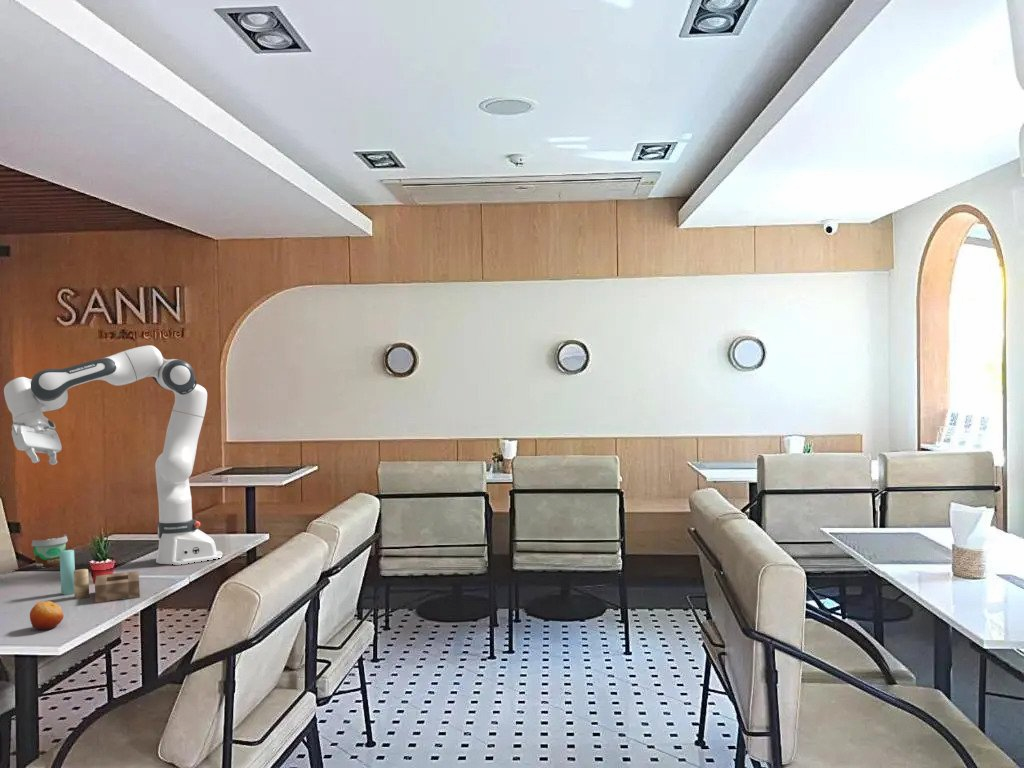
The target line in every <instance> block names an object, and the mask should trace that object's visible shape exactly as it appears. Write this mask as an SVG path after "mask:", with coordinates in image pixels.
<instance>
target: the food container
mask: <svg viewBox="0 0 1024 768" xmlns="http://www.w3.org/2000/svg"><path fill="white" fill-rule="evenodd" d="M68 541H69V540H68V536H67V535H66V534H64V533H63V536H60V537H55V538H54V537H53V538H46V539H38V540H37V539H32V542H31V547H32V548H33V553H34V560H35V561H34V562H35V565H36V567H52V568H54V567H53V566H58V565H60V551H64V550H66V546H67V545H66V544H67V542H68ZM58 567H59V566H58Z"/></svg>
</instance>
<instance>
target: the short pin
mask: <svg viewBox="0 0 1024 768" xmlns="http://www.w3.org/2000/svg"><path fill="white" fill-rule="evenodd" d="M89 576H90V575H89V569H88V568H81V569H80V568H79V569H75V571H74V599H76V598H80V599H86V598H89V597H90V582H89V580H90V578H89Z"/></svg>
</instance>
